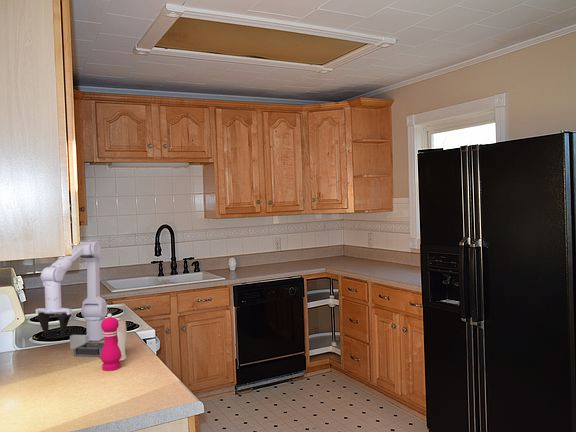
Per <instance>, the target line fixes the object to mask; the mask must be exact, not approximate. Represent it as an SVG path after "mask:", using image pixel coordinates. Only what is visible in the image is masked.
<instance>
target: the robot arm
mask: <svg viewBox="0 0 576 432" xmlns="http://www.w3.org/2000/svg"><path fill="white" fill-rule="evenodd" d="M79 242H80V244H79V245H77V246H73V245H72V248H71V250H72V256H66V255H64V257H63V256H59V257H58V259H57V260H55V261H54V262H53V263H52V264H51V265H50V266H46V267H45V268H43V269H42V271H41V273H40V276H39V277H40V280H41V281H42V286H43V287H44V303H45V304H44V306H45V308H44V307H42V308H41V307H39V308H35V315H36V316H35V318H36V320H37V321H38V322H39V324H40V326H41V329H42V333H43V334H46V333H48V332H49V326H50V325H49V321H50V315H58V316H57V318H58V322H59V328H60V329H59V330H60V334H64V333H66V331H67V326H68V323H69V322H70V318H71V317H72V315H73V308H67V307H62V305H63V304H62V286H61V285H62V283H61V282H62V281H63V279H64V276H65V275H66V273H67V272H68V271H69V270H70V269H71V267H72V265H73V262H75V261H76V260H78V258H80V259H83V260H84V262H86V275H87V277H86V279H87V280H86V282H87V283H86V285H87V286H86V288H87V290H86V291H87V292H86V293H87V297H86V298H85V299H84V300H82V307H81V310H80V311H81V312H80V313H81V314H80V315H82V318H84V321H85V325H86V326H85V327H86V335H89V342H90V341H91V342H92V341H93V342H95V341H96V342H99V341H102V340H104V336H103V332H104V331H103V330H102V328H101V323H102V321H103V320H104V319H106V318H107V315H108V306H107V301H106V300H105V299H104V298H103V297H101V281H100V280H101V277H100V276H101V275H100V273H101V271H100V260H101V259H102V251H101V250H102V246H101V244H100V243H99V242H98V241H96V240H94V241H79Z"/></svg>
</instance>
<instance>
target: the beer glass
mask: <svg viewBox="0 0 576 432" xmlns="http://www.w3.org/2000/svg"><path fill="white" fill-rule="evenodd" d="M116 319H117V320H118V323H119V326H118V328H117V329H116V330H117V335H116V340H117V344H118V346H119V348H120V351H121V355H122V356H121V359H120V360H119V362H122V361H125V360H126V359H127V355H126V342H127V330H128V329H127V322H126V319H125V318H116Z"/></svg>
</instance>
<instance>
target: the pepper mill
mask: <svg viewBox="0 0 576 432" xmlns="http://www.w3.org/2000/svg"><path fill="white" fill-rule="evenodd" d="M105 318H106V319H104V320H103V321H102V323H101V328H102V330H103V331H104V332H103V336H104V338H103V340H104V342H103V343H104V346H103V349H102V352H101V356H100V357H99V358H100V360H101V362H102V365H101V368H102V371H105V372H111V371H117V370H119V369H120V368H121V361H119V360H120V359H121V356H122V355H121V351H120V348H119V346H118V344H117V340H116V335H117V330H116V329H117V328H118V326H119V323H118V320H117V319H118V318H115V317H113V314H112V313H111V312H110V313H107V315H106V317H105Z"/></svg>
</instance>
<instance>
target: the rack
mask: <svg viewBox="0 0 576 432" xmlns="http://www.w3.org/2000/svg"><path fill="white" fill-rule="evenodd" d="M103 346H104V342H95V341H93V342H92V341H91V342H90V341H89V342H86V343H84V344H82V345H80V346H78V347H76V348H74V349H73V356H74V357H84V358H85V357H89V358H100V356H101V352H102V349H103Z"/></svg>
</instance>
